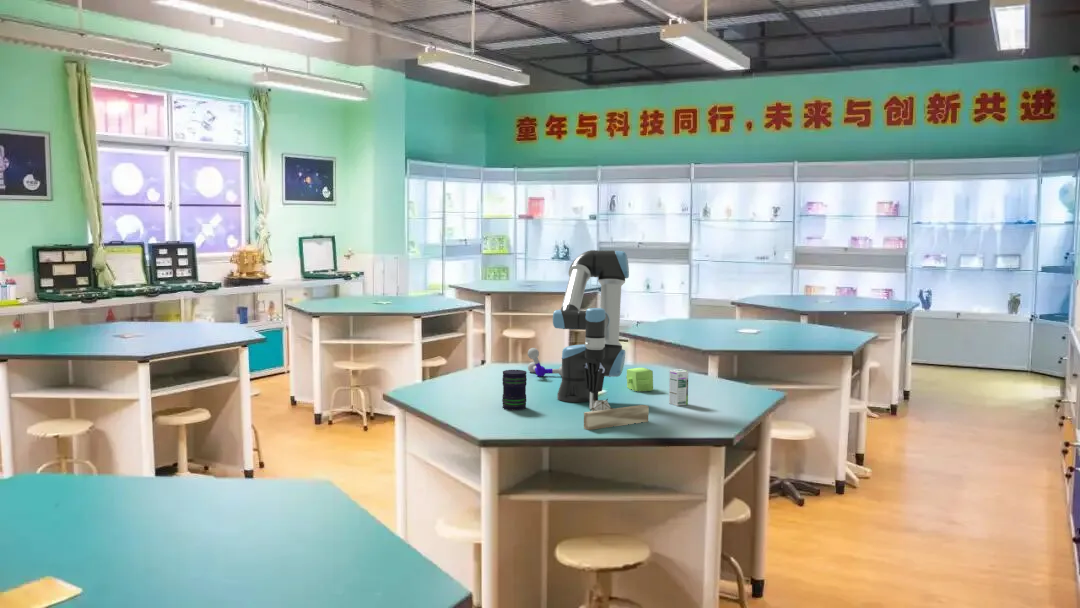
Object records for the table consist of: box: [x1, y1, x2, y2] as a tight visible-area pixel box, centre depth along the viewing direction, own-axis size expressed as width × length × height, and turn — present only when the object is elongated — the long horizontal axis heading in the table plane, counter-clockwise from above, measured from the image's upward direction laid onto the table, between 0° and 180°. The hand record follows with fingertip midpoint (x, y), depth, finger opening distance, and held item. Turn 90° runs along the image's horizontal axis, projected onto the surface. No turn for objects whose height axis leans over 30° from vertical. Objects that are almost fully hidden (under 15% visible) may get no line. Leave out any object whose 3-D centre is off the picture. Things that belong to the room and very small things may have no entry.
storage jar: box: [501, 369, 527, 411], centre depth 353 cm, size 10×10×15 cm
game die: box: [589, 398, 614, 412], centre depth 334 cm, size 9×8×10 cm
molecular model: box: [527, 347, 562, 378], centre depth 432 cm, size 21×21×15 cm
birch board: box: [583, 404, 650, 431], centre depth 325 cm, size 3×28×6 cm, turn 122°
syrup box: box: [668, 368, 689, 407], centre depth 365 cm, size 6×6×14 cm
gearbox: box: [625, 367, 654, 392], centre depth 398 cm, size 18×10×10 cm, turn 18°
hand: (593, 408), depth 338 cm, fingers closed
